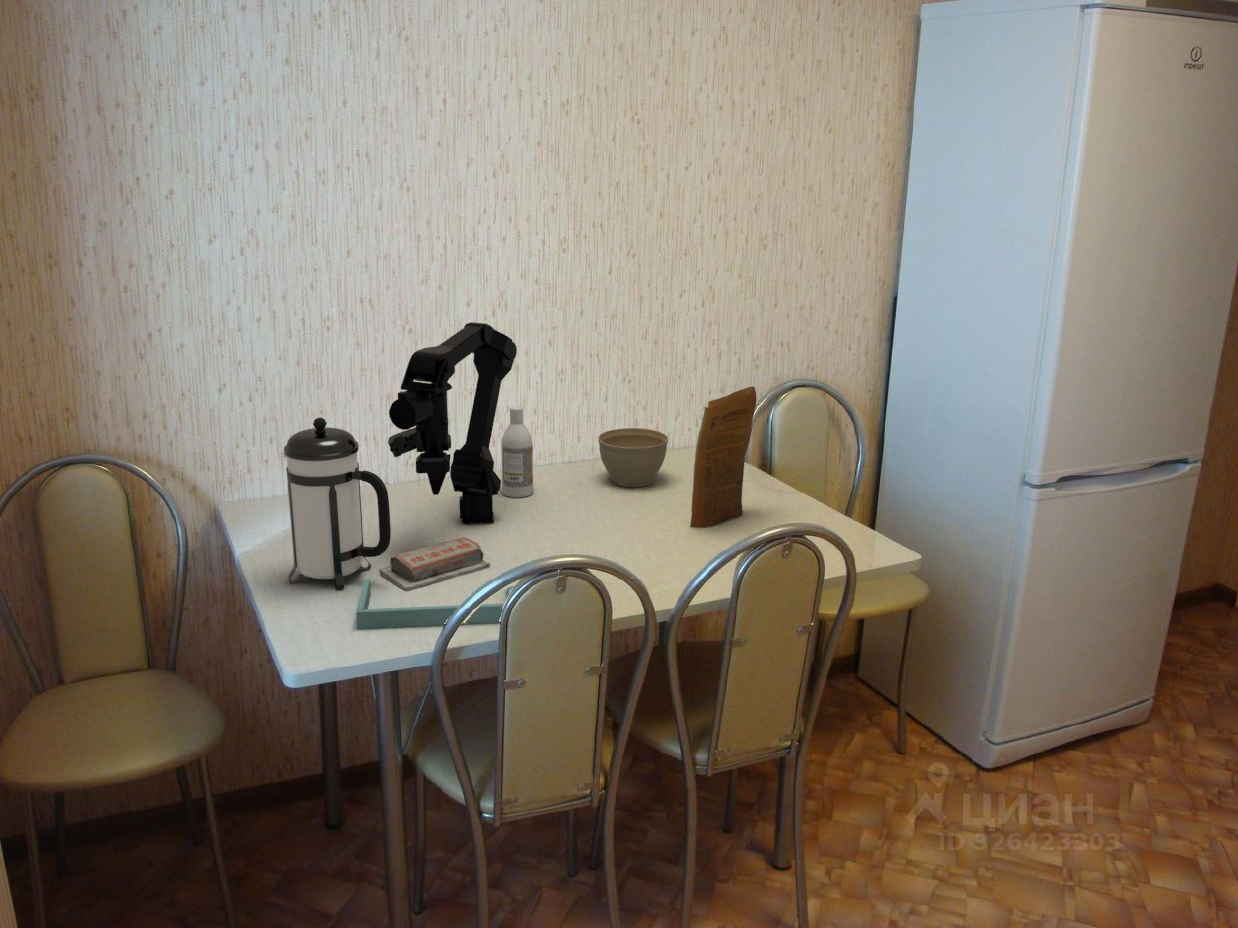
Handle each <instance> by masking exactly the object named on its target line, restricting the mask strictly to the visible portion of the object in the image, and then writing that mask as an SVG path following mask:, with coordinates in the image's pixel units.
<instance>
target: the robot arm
mask: <svg viewBox="0 0 1238 928" xmlns="http://www.w3.org/2000/svg"><path fill="white" fill-rule="evenodd" d="M517 349H518V348H517V345H516V343H515V342H514V341H513V339H512V338H511V337H509V336H508V335H505V334H504V333H502V332H500V331H498V330H496V329H494V327H492V326H491V325H490V324H488V323H482V322H467V323H466V324H464V326H463V328H462V329H460V330H459V331H457V332H455V333H454V334H453V335H451V336H450V337H449V338H447V339H446V340H445V341H443V342H442V343H440V344H439V345H436V346H430V347H423V348H421V349H419V350H416V351H415V352H413V353H412V355H411V356H410V358H409V361H408V364H407V367H406V369H405V373H404V376H403V379H402V381H401V385H400V390H402V391H399V392H397V399H396V400H394V401H393V402H391V405H390V407H389V409H388V415H389V419H390V421H391V422H392V424H393V425H394V426H395V428H398V429H399V430H403V431H400V432H398V433H396V434H393V435H391V436H389V437H388V441H387V444H388V446H389V448H390V449H389V451H390V452H392V454H393V457H394V458H398V457H401V456H402V455H403V454H406V453H408V452H411V451H414V450H416V453H419V454H418V456H417V457H416V458H415V459H416V460H415V473H416V474H427V478H428V481H429V485H430V489H431V492H432V495H434V496H435V495H436V496H437V495H439V494H440V492H441V489H442V486H443V483H444V481H445V479H446V475H447V473H449V476H450V479H451V483H452V487H453V491H454V492H456V493H457V492H459V493H461V495H460V496H459V500H458V501H459V519H461V522H462V524H463V525H469V524H470V525H471V524H472V525H475V524H476V525H478V524H493V523H494V521H495V517H494V508H493V505H494V504H493V503H494V502H493V496H496V495H499V492H500V491H501V488H502V479H501V478H500V477H499V476H498V474H496V472H495V471H494V467H495V466H494V465H495V461H494V457H493V456H492V453H491V450H490V443H491V440H492V433H493V428H494V422H495V417H496V413H497V412H496V411H497V407H498V402H499V397H500V396H499V395H500V391H501V385H502V381H503V380H504V378H505V377H506V376H507V375H508V374H510V373H509V372H510V371H511V370H512V369H513V365H514V361H515V359H516V356H517V353H518V350H517ZM471 354H473V364H474V368H475V370H476V372H477V375H478V376H477V381H476V387H475V393H474V398H473V402H472V407H471V412H470V417H469V424H468V428H467V435H466V438H465V439H466V440H465V443H464V444H463V446H462V447H461V448H460V449H457V448H456V449H455V451H454V452H453V457H452V461H451V454H448V453H447V452H448V451H450V450H449V449H452V436H451V435H450V433H449V414H448V413H449V411H448V407H449V406H448V391H450V390H452V388H453V386H452V384H451V383H449V380H450V379H451V378H452V377H453V375H455V373H456V365H458V364H459V363H460V362H462V361H463V360H464V359H465V358H467V357H468V356H469V355H471ZM451 462H452V463H451Z"/></svg>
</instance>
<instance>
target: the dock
mask: <svg viewBox="0 0 1238 928" xmlns="http://www.w3.org/2000/svg"><path fill="white" fill-rule="evenodd" d="M362 582H363V583H362V587H361V590H360V595H359V599H358V603H357V608H356V612H355V613H356V614H355V615H356V628H357V629H358V630H360V629H361V630H362V629H363V630H364V629H365V630H366V629H382V628H384V629H387V628H406V627H409V628H411V627H429V626H431V627H432V626H433V627H434V626H445V625H444V623H445V622H446V620H447V619H449V617H450V616H451V615H452V614H453V613H454V611H455V610H456V609H457V608H458V607H459V606H460V605H442V606H441V605H437V606H436V605H434V606H414V607H413V606H411V607H393V608H392V607H387V608H369V604H370V600H371V597H372V595H371V594H372V593H371V580H370V579H369V578H367V579H365V578H364V579H363V581H362ZM512 588H514V589H515V585H514V586H510V587H508V588H507V589H506V591H507V595H508V594H509V592H510V590H512ZM503 605H504V603H485V604H484V603H483V604H482V605H481V606H480V607H479V608H478V609H477V610H476V611H475V612H474V613H473V614H472V615H471V617H470V618H469V619H468V620H467V621H466V623H478V625H480V624H495V623H496V624H498V622H499V619H500V617H501V613H502V607H503Z"/></svg>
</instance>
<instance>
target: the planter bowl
mask: <svg viewBox="0 0 1238 928" xmlns="http://www.w3.org/2000/svg"><path fill="white" fill-rule="evenodd" d="M597 440H598V444H599V445H598V446H599V454H600V458H601V461H602V464H603V465H604V467H605V469H606V471H607V472H608V474H609V475H610V476H611V480H612V482H613V483H614V484H615V485H618V486H621V487H626V488H640V487H641V488H642V487H646V486H649V485H651V484H652V483H653V482H654V479H655V476H656V475H657V473H659V471H660V470H661V467H662V466H663V463H664V461H665V458H666V454H667V448H668V447H667V446H668V443H669V437H668V435H667V434H665V433H664V432H661V431H658V430H654V429H649V428H643V427H642V428H638V427H626V428H624V427H623V428H615V429H610V430H607V431H604V432H602V433H600V434H599V435H598V436H597Z"/></svg>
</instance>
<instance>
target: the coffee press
mask: <svg viewBox="0 0 1238 928" xmlns="http://www.w3.org/2000/svg"><path fill="white" fill-rule="evenodd" d="M327 424H328V422H327V421H326V419H325V418H324V417H317V418H315V419H314V420H313V423H312V425H313V428H307V429H304V430H300V431H298V432H296V433H293V435H291V436H290V437H289V438H288V440H287V442H286V444H285V446H284V447H283V458H286V464H287V467H286V478H287V490H288V491H287V493H288V505H289V518H290V520H289V521H290V528H291V529H290V530H291V531H290V532H291V543H292V555H293V567H292V570H291V571H290V572H289V574H288V581H289V582H290V583H291V584H297V583H298V582H299V581H300V580H301V579H302V578H304V577H307V578H311V579H315V580H316V579H317V580H331V579H332V580H333V584H334V587H335V590H337V591H338V590H342V589H343V590H344V589H345V582H344V577H346V576H349V575H352V574H353V573H356V571H358V570H360V569H362V570H363V571H366V572H367V570H368V571H370V570H371V568H372V565H371V563H370V561H369V560H367V558H375V557H380V556H381V555H382V554H383V553H385V552H386V551H387V550H388V548H389V546H390V543H391V536H392V535H391V530H392V529H391V513H390V512H391V511H390V500H389V493H388V490H387V489H388V488H387V487H386V484H385V482H384V481H383V479H382V478H381V477H379V476H378V475H377V474H375V473H373V472H372V471H368V470H366V469H365V470H360V465H359V464H360V463H359V461H358V451H359V449H360V446H359V442H358V441H356V439H355V437H354V435H353V434H352V433H350V432H349V431H347V430H345V429H342V428H337V427H329V426H327ZM360 481H361V482H366V483H368V484H369V485H371V486H372V488H373V489H374V491H375V493H376V498H377V511H378V528H379V529H378V530H379V531H378V532H379V540H378V543H377V545H376V546H364V533H363V532H364V531H363V516H362V515H363V514H362V499H361V497H362V496H361V485H360V484H361V482H360ZM364 560H365V561H366V562H367V564H368V565H367V566H366V567H364V566H362V565H363V562H364ZM296 571H298V572H299V574H298V575H297V576H296V577H295V578H294V579H292V577H293V576H294V574H295V573H296Z"/></svg>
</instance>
